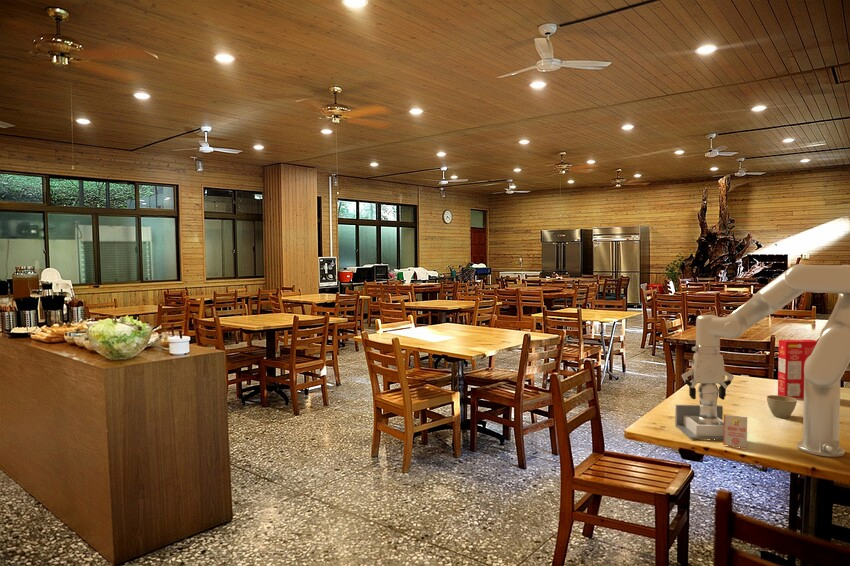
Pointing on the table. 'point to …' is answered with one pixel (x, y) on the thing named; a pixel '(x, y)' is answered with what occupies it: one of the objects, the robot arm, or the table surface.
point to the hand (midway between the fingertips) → (707, 398)
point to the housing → (689, 423)
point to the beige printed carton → (735, 431)
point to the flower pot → (781, 405)
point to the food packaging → (793, 366)
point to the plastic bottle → (708, 404)
